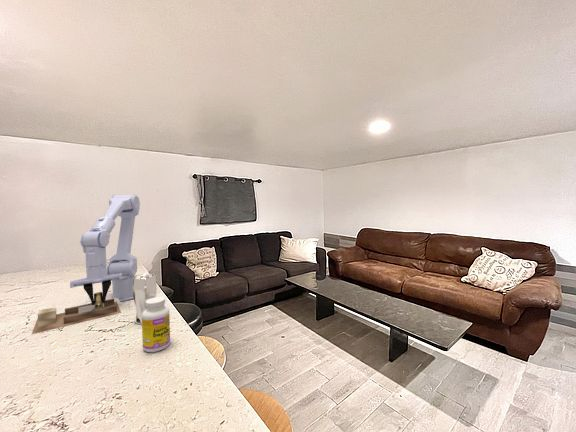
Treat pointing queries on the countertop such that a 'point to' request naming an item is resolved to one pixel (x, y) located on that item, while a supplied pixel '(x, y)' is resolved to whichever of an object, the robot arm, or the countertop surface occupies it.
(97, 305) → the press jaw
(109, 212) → the robot arm
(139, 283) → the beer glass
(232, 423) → the countertop surface
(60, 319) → the press board
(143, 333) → the supplement bottle
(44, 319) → the block
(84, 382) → the countertop surface
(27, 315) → the countertop surface
